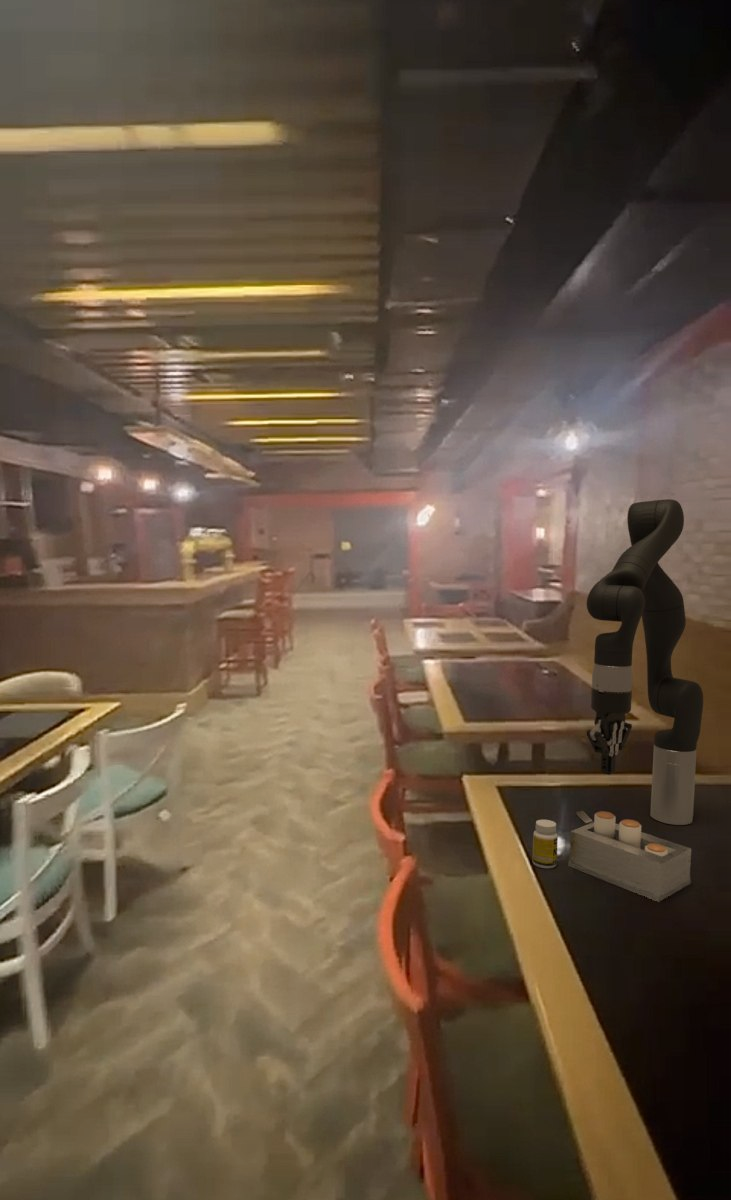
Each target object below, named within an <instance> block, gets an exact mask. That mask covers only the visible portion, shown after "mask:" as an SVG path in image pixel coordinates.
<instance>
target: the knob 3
mask: <svg viewBox="0 0 731 1200" xmlns="http://www.w3.org/2000/svg"><path fill="white" fill-rule="evenodd" d="M645 851H648V852H650V853H653V854H656V855H659V856H662V857H663V856H665V855H667V854H668V850H667V849H666V848H665V847H664V846H663V845H660V844H655V843H651V844H648V845H646V846H645Z"/></svg>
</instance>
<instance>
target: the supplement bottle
mask: <svg viewBox="0 0 731 1200" xmlns="http://www.w3.org/2000/svg"><path fill="white" fill-rule="evenodd" d="M558 835H559V834H557V823H556V822H555V821H553V820H549V819H538V820H536V822H535V830H534V831H533V835H532V836H533V837H532V859H531V860H532V864H533V865H534V866H535V867H537V868H541V869H553V868H555V867H556V866H557V863H558V862H557V860H558Z"/></svg>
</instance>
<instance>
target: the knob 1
mask: <svg viewBox="0 0 731 1200" xmlns="http://www.w3.org/2000/svg"><path fill="white" fill-rule="evenodd" d="M593 817H594V820H593V822H594V833H596V834H599V835H602V836H605V837H608V838H611V839H614V840H615V823H616V820H617V819H616V818H617V817H616V816H615V815H614V814H613V813H612V812H609V811H605V810H604V811H603V810H601V811H597V812H595V813H594V816H593Z"/></svg>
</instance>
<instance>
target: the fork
mask: <svg viewBox="0 0 731 1200" xmlns="http://www.w3.org/2000/svg"><path fill="white" fill-rule="evenodd" d="M576 814H577V815H578V817H579V818H580V819H581V820H582V821H583V822H584V823H585V824H587V823H588V824H589V823H592V822H594V820H593V819H591V818H590V817H589V816H588V815H587V814H586V813H585V812H584V811H583V810H580V811H576Z"/></svg>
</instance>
